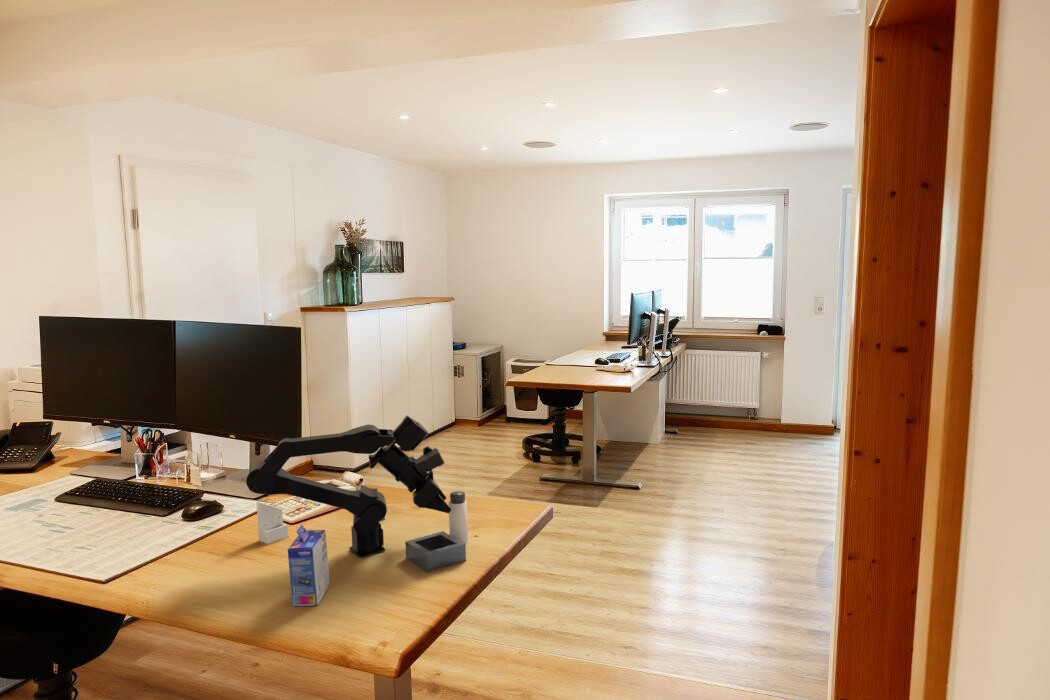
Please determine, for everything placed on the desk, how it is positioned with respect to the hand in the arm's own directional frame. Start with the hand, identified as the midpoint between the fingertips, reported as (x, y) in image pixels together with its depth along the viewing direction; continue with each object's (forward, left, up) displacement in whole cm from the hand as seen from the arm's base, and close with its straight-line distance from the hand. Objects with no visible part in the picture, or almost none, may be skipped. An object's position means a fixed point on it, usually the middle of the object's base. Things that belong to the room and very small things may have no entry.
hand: (447, 505), depth 168 cm
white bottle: (+2, -1, -9) cm, 10 cm away
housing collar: (-8, -7, -9) cm, 14 cm away
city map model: (-5, +28, -10) cm, 30 cm away
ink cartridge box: (-37, -6, -9) cm, 38 cm away
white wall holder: (-33, +30, -10) cm, 45 cm away
